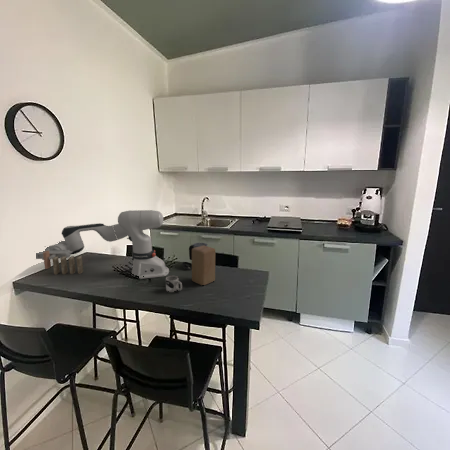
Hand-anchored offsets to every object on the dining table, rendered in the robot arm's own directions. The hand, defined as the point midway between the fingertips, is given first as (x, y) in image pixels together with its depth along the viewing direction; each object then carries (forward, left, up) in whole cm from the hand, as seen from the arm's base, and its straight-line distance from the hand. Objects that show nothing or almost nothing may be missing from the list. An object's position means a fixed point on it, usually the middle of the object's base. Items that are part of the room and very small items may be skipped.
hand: (46, 258), depth 166 cm
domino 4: (-14, -1, -10) cm, 17 cm away
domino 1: (0, -1, -6) cm, 6 cm away
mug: (-76, +29, -10) cm, 82 cm away
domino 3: (-9, -1, -10) cm, 14 cm away
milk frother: (-88, -4, -10) cm, 89 cm away
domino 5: (-18, -1, -10) cm, 21 cm away
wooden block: (-92, +19, -10) cm, 95 cm away
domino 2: (-5, -1, -10) cm, 11 cm away
